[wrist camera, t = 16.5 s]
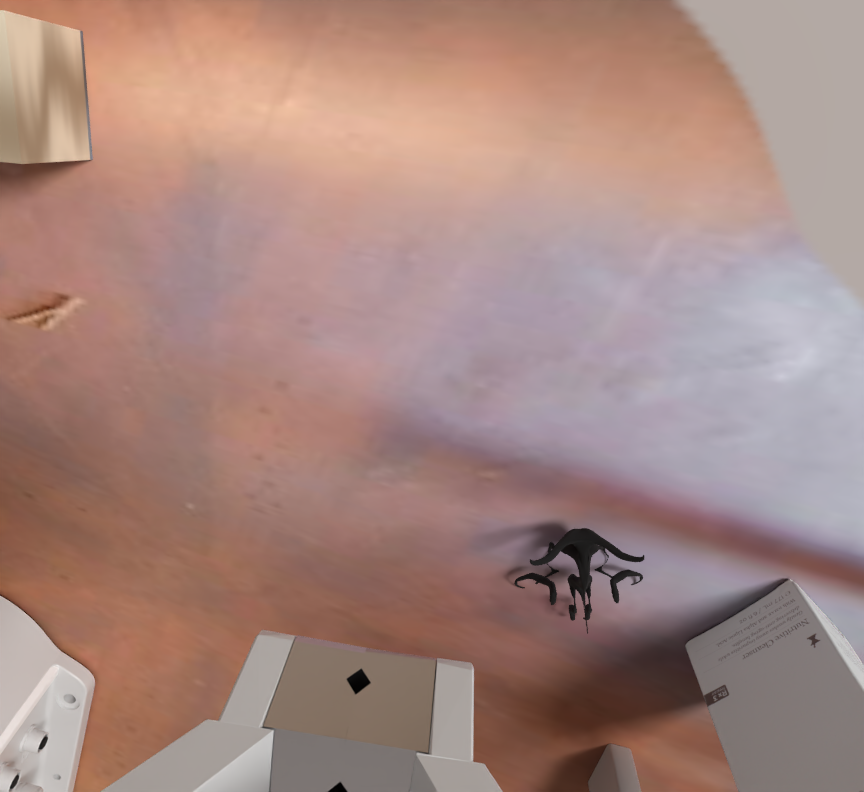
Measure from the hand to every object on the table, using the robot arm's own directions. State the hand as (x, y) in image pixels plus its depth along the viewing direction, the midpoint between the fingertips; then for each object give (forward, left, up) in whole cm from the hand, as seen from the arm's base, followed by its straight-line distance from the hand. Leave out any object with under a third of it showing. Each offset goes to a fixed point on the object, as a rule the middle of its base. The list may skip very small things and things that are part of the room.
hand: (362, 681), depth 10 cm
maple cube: (+6, +22, -23) cm, 33 cm away
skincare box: (-20, -23, -29) cm, 42 cm away
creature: (-17, -11, -30) cm, 35 cm away
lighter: (-34, -16, -29) cm, 48 cm away
